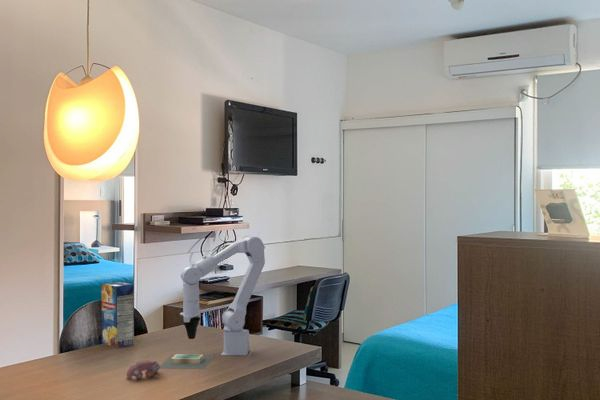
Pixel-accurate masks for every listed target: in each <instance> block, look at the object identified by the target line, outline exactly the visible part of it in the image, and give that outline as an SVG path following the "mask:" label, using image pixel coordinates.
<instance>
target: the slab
mask: <svg viewBox="0 0 600 400" xmlns="http://www.w3.org/2000/svg"><path fill="white" fill-rule="evenodd" d="M173 355H174V356H173V357H172V358H171V363H176V364H200V363H201V361H202V360H203V355H204V354H198V353H197V354H195V353H194V354H193V353H192V354H189V353H188V354H184V353H183V354H181V353H180V354H178V353H177V354H175V353H174V354H173Z"/></svg>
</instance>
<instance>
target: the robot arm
mask: <svg viewBox="0 0 600 400" xmlns="http://www.w3.org/2000/svg"><path fill="white" fill-rule="evenodd" d="M265 248H266V247H265V245H264V242H263V241H262V239H261V238H260V237H258V236H250V235H245V236H243V237H242V238H239V239H237V240H235V241H234V242H232V243H231V244H229V245H228V246H226V247H224V249H221V250H220V251H219V252H217V253H216V254H214V255H210V254H209V255H203V256H202V257H201V258H202V259H200V260H198V261H197V262H195V263H194V262H192V263H191V264H190V265H191V266H188V267H187V266H186V267H185V268H184V269H182V271H181V274H180V278H181V280H182V309H183V310H182V312H180V313H179V315H180V316H183V319H182V323H183V325H184V327H185V331H186V334H187V335H186V336H187V337H188V340H195V339H196V335H197V330H198V325H199V323H200V321H201V317H199V316H200V315H201V311H200V287H199V284H200V283H199V282H200V280H201V278H204V277H205V276H207V275H209V274H211V273H212V272H214V271H215V270H217V269H218V266H219V264H220V263H222V262H223V261H225V260H227V259H229V258H231V257H232V256H234V255H236V254H245V255H246V257H247V260H248V262H249V264H248V267H247V269H246V271H245V273H244V275H243V278H242V280H241V283H240V285H239V288H238V289H237V292H236V294H235V296H234V298H233V300H232V302H231V303H230V304H229V305H228V308H227V309H226V310H225V311H224V312H223V313H222V315H221V322H222V323H223V325H224V327H223V329H222V330H223V351H222V352H221V354H220V356H247V355H248V354H249V352H250V331H249V329H244V327H245V323H246V315H247V305H249V301H250V299H251V297H252V294H253V292H254V289H255V287H256V285H257V283H258V280H259V278H260V275H261V273H262V271H263V269H264V267H265V263H266V258H265Z"/></svg>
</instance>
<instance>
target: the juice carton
mask: <svg viewBox="0 0 600 400" xmlns="http://www.w3.org/2000/svg"><path fill="white" fill-rule="evenodd" d="M100 287H101V344H102V345H105V344H107V345H106V346H108V345H110V346H109V347H111V346H113V347H112V348H114V347H116V348H115V349H120V348H119V347H121V348H125V347H124V346H126V347H129V346H134V345H135V318H134V317H135V315H134V314H135V307H134V306H135V305H134V304H135V303H134V302H135V301H134V300H135V299H134V298H135V297H134V296H135V295H134V294H135V292H134V289H135V287H134V284H133V283H127V282H122V281H115V282H105V283H104V282H103V283H101V285H100Z"/></svg>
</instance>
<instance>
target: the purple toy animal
mask: <svg viewBox="0 0 600 400" xmlns="http://www.w3.org/2000/svg"><path fill="white" fill-rule="evenodd" d="M159 368H160V364H159V362H157V361H156V360H155V359H152V360H149V359H144V360H140V361H138V362H134V363H132V364H131V365H130V367H128V370H127V372H126V378H127V379H131V378H133V377H135V378H136V379H137V380H141V379H142V378H143V376H144V375H145V377H146V378H151V377H152V376H153V375H154V374H157V373H158V372H159V370H160V369H159ZM143 371H144V372H145V373H144V374H143Z"/></svg>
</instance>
